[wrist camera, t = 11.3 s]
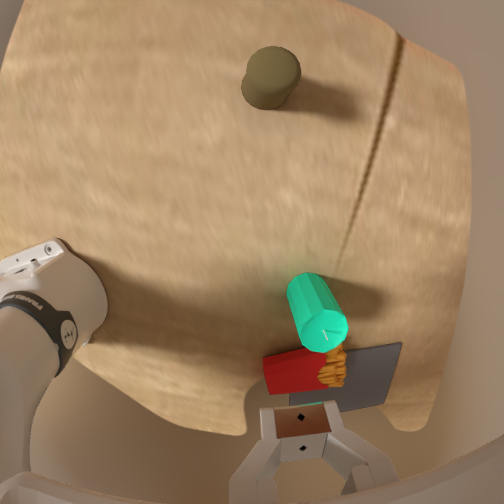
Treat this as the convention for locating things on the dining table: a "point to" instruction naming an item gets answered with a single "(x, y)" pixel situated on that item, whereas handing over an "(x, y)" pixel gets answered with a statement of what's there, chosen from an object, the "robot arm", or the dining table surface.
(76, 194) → the dining table surface
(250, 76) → the cork
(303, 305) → the candle
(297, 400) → the mat
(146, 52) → the dining table surface
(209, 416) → the dining table surface
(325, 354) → the french fries
